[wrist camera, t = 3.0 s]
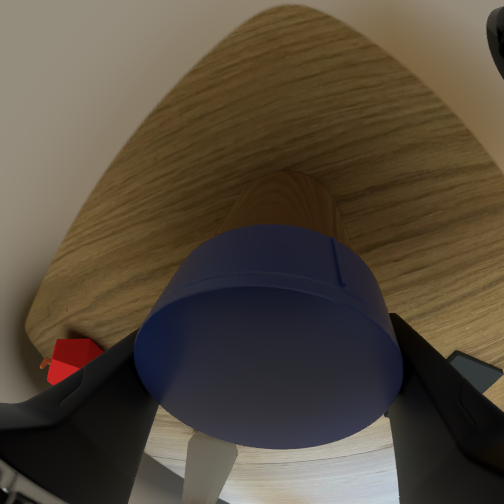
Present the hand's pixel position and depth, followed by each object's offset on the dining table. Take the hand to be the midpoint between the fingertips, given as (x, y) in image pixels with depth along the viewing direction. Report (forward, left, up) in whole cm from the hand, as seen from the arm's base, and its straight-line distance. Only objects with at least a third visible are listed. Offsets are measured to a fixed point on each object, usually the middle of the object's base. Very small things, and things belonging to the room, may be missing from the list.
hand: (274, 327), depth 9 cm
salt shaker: (+27, +5, -8) cm, 29 cm away
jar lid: (0, 0, +2) cm, 2 cm away
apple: (+21, -11, -8) cm, 25 cm away
